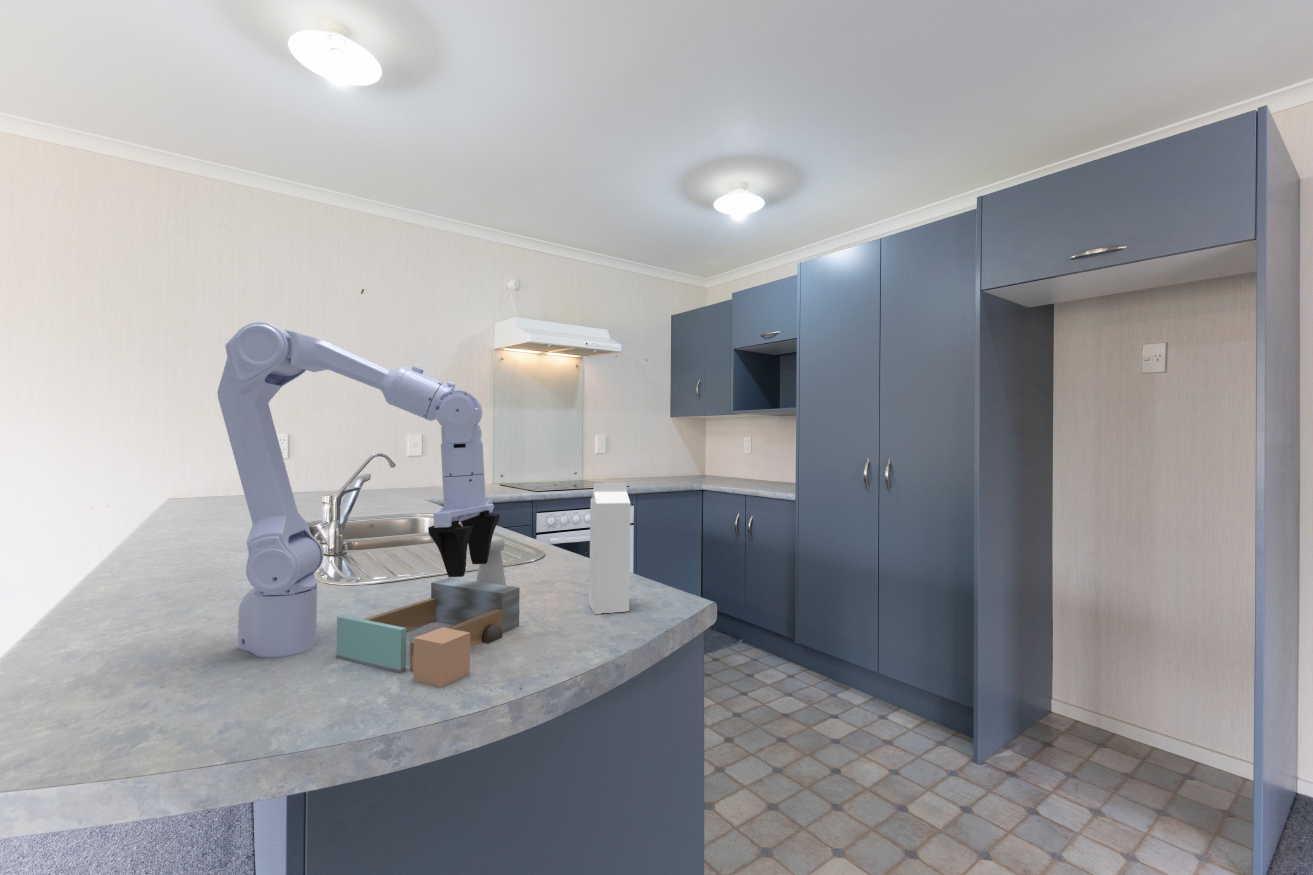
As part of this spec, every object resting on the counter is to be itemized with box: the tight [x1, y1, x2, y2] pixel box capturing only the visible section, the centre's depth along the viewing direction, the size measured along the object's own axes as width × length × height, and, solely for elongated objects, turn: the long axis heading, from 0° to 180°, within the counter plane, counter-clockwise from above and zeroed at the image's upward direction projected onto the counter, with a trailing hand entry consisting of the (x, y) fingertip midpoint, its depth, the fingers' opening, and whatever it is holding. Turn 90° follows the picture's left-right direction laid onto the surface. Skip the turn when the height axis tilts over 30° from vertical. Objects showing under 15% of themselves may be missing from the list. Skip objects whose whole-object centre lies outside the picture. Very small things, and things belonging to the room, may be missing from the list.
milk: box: [588, 482, 631, 615], centre depth 104 cm, size 6×6×22 cm
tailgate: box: [335, 615, 407, 674], centre depth 75 cm, size 11×1×6 cm, turn 65°
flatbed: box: [363, 577, 521, 672], centre depth 85 cm, size 16×20×7 cm
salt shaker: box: [475, 535, 507, 586], centre depth 100 cm, size 6×6×13 cm
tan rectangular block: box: [412, 626, 471, 688], centre depth 71 cm, size 4×4×6 cm
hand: (468, 569), depth 85 cm, fingers open, 7 cm apart
